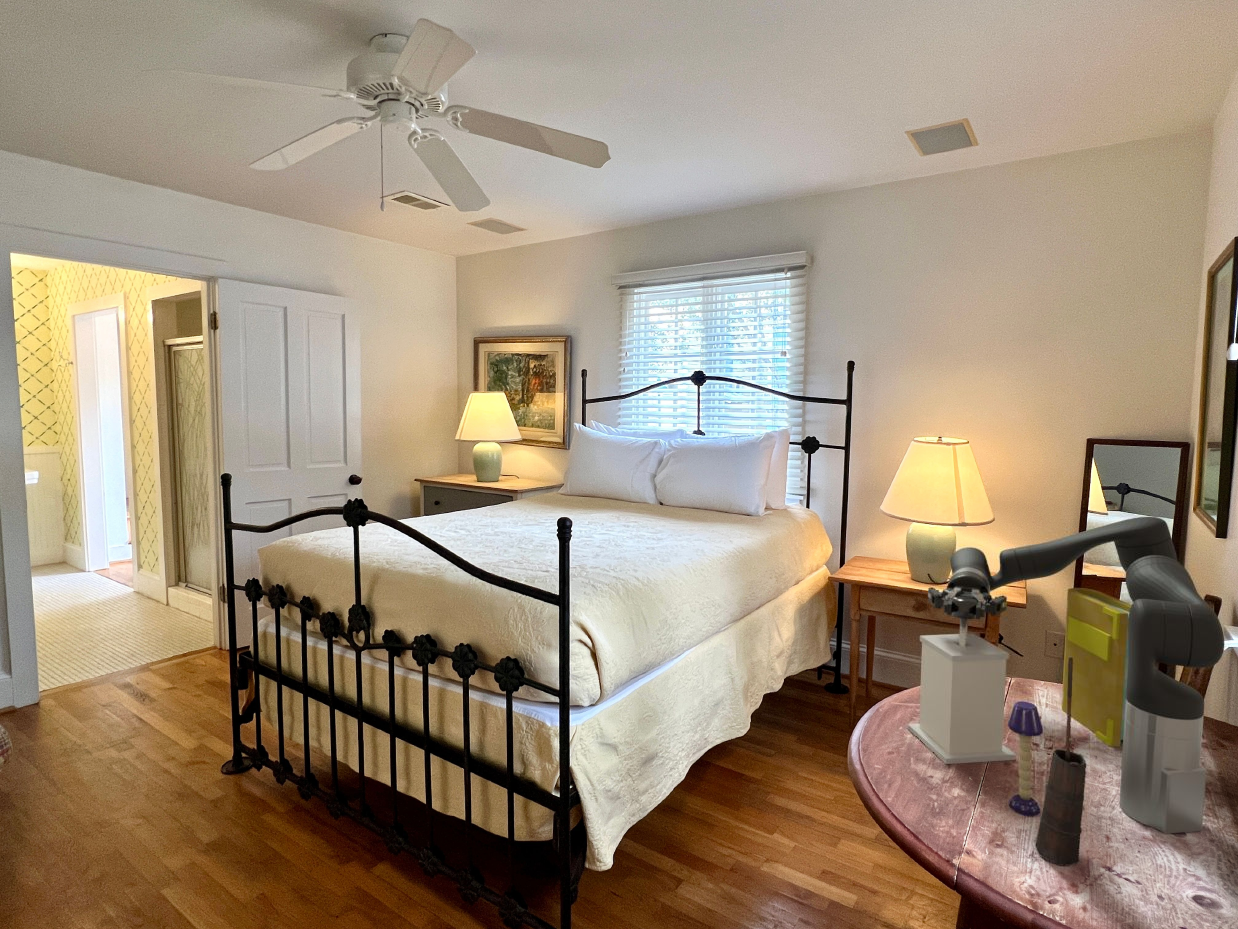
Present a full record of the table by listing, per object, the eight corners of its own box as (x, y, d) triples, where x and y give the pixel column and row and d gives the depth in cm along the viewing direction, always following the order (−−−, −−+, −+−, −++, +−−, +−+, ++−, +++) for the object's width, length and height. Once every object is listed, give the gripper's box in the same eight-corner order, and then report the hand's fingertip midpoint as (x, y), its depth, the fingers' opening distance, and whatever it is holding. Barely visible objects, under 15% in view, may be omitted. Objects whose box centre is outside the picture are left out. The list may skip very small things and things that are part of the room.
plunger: (993, 745, 124) (999, 605, 121) (951, 748, 123) (956, 607, 120) (966, 725, 131) (972, 592, 129) (927, 727, 131) (931, 594, 128)
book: (1146, 746, 126) (1155, 613, 123) (1109, 746, 126) (1117, 613, 124) (1086, 705, 143) (1092, 588, 140) (1053, 705, 143) (1059, 588, 140)
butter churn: (1103, 893, 89) (1115, 683, 86) (1018, 865, 94) (1027, 667, 92) (1102, 854, 96) (1114, 660, 94) (1024, 830, 102) (1032, 646, 99)
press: (1015, 759, 121) (1020, 655, 120) (945, 764, 120) (949, 659, 118) (971, 725, 134) (974, 631, 133) (907, 729, 133) (910, 633, 131)
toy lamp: (1005, 811, 106) (1009, 707, 105) (1004, 796, 110) (1008, 696, 109) (1041, 819, 104) (1046, 714, 103) (1039, 804, 108) (1044, 701, 107)
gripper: (930, 566, 140) (921, 586, 126) (1009, 575, 134) (1010, 596, 119) (928, 602, 141) (919, 626, 126) (1008, 612, 134) (1008, 638, 119)
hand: (963, 611), depth 123 cm, fingers closed on plunger, 4 cm apart
